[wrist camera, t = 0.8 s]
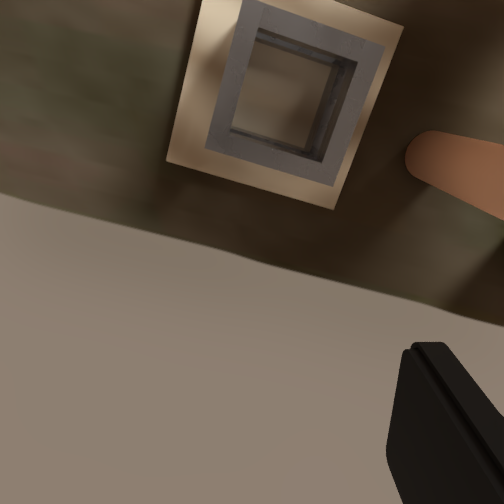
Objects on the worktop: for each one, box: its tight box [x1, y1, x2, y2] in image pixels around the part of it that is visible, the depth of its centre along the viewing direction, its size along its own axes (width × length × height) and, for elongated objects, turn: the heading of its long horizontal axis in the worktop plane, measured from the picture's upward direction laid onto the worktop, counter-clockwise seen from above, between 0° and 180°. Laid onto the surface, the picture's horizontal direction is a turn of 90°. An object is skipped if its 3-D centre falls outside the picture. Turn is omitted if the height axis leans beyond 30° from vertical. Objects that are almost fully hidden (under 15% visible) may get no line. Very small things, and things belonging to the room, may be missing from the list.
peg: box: [405, 130, 504, 221], centre depth 27 cm, size 4×4×16 cm
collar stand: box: [166, 0, 404, 210], centre depth 29 cm, size 14×14×8 cm
